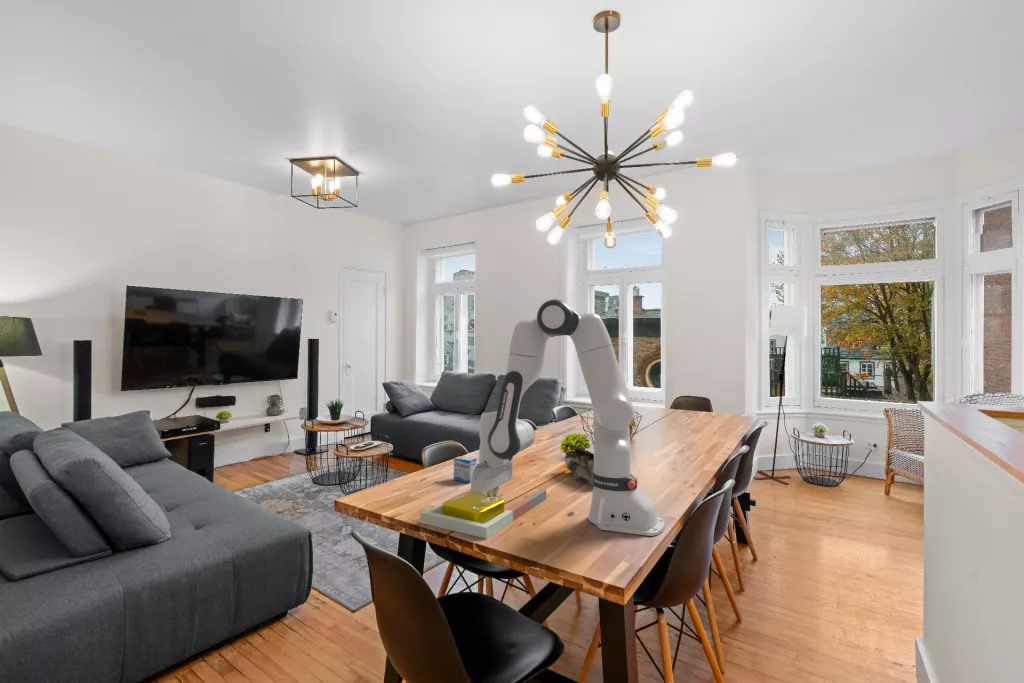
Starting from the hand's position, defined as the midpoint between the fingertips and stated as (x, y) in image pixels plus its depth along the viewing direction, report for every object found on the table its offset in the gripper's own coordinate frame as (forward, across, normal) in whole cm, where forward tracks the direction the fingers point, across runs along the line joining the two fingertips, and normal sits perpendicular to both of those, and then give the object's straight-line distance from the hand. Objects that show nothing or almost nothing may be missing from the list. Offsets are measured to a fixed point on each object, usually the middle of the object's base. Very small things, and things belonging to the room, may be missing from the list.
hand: (492, 500), depth 157 cm
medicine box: (+2, +21, +25) cm, 33 cm away
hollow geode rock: (+2, +48, -15) cm, 51 cm away
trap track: (+2, -3, 0) cm, 3 cm away
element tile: (+3, -8, +2) cm, 8 cm away
